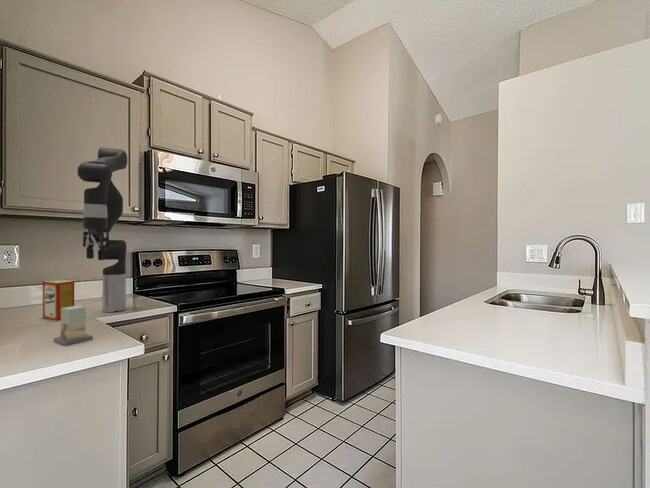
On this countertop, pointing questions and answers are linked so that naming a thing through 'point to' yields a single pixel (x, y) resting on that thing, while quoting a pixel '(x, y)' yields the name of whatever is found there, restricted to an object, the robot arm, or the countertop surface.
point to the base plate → (72, 340)
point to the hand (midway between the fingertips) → (95, 259)
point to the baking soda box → (57, 298)
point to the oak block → (72, 331)
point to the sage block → (73, 315)
